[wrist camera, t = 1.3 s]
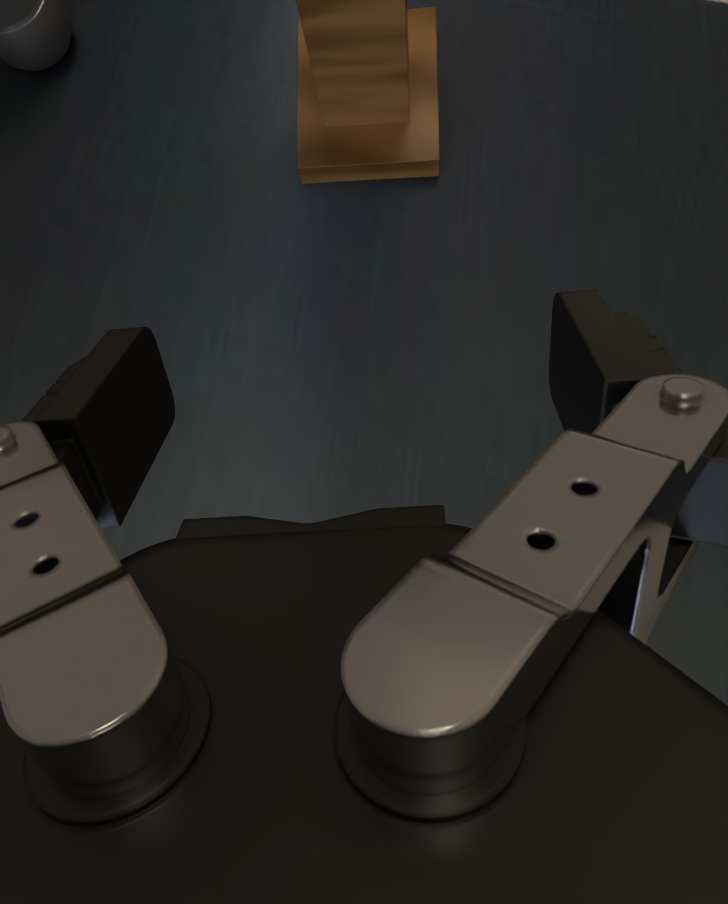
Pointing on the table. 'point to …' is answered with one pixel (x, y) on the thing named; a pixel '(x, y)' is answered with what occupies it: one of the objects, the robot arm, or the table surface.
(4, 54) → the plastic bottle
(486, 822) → the robot arm
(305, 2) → the plant stand
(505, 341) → the table surface
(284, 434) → the table surface
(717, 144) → the table surface
